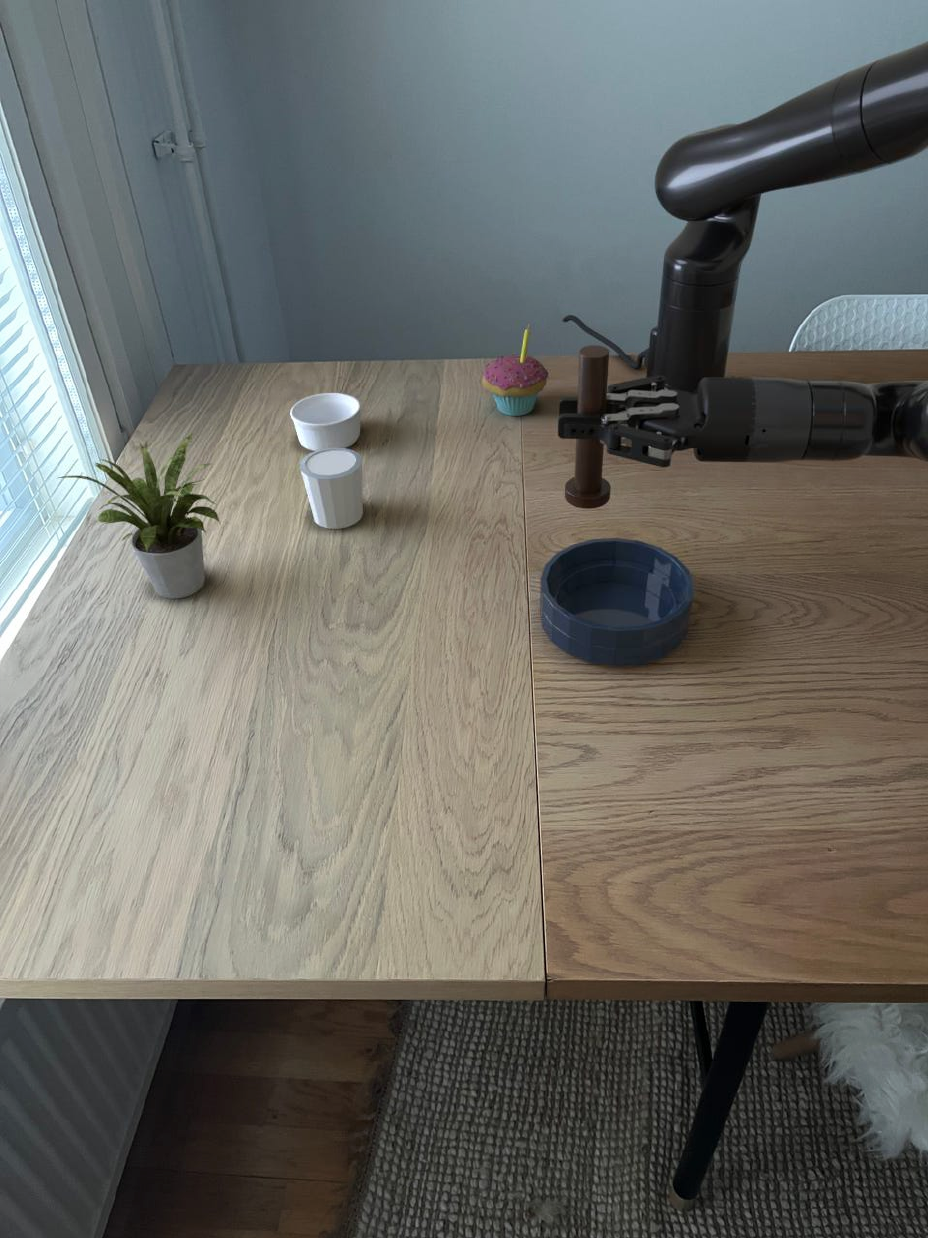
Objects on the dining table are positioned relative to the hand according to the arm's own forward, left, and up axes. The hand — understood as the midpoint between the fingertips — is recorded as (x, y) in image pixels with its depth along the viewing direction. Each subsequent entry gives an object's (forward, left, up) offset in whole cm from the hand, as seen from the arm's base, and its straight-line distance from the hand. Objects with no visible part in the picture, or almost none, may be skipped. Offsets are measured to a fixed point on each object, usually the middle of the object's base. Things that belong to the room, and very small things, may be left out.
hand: (559, 417), depth 88 cm
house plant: (-24, -32, -18) cm, 44 cm away
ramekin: (-40, -2, -18) cm, 44 cm away
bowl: (+10, -1, -18) cm, 20 cm away
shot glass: (-24, -11, -18) cm, 32 cm away
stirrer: (+2, +2, -8) cm, 9 cm away
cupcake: (-30, +21, -18) cm, 41 cm away
